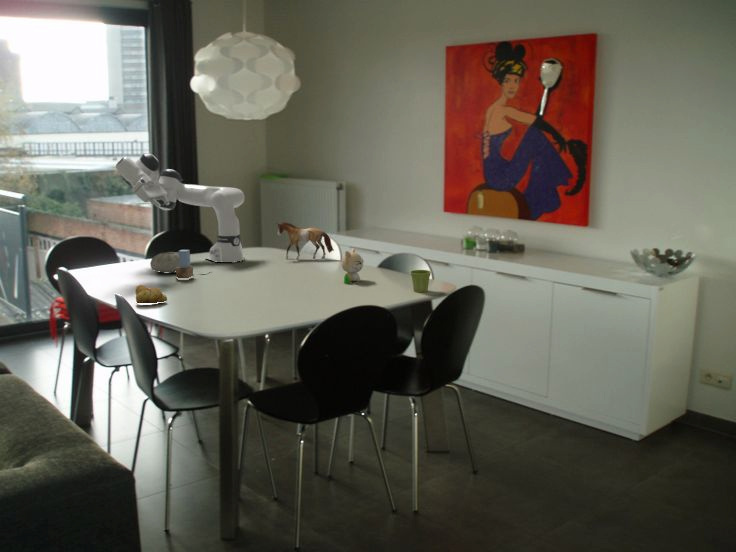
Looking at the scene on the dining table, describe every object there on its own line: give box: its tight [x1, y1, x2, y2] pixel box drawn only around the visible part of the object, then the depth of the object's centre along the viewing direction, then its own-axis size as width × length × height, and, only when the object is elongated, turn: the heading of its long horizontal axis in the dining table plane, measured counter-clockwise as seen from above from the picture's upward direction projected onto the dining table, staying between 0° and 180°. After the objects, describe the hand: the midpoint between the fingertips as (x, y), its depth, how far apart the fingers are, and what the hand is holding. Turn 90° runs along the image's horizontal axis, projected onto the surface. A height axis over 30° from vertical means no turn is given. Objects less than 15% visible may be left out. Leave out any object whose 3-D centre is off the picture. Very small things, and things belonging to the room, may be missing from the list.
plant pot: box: [409, 269, 432, 293], centre depth 352 cm, size 9×9×9 cm
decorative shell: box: [149, 251, 179, 273], centre depth 405 cm, size 18×18×10 cm
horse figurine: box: [275, 222, 335, 260], centre depth 435 cm, size 31×8×21 cm, turn 85°
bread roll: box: [135, 284, 168, 304], centre depth 333 cm, size 13×10×8 cm
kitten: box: [341, 247, 365, 285], centre depth 375 cm, size 15×10×15 cm, turn 161°
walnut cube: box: [175, 265, 194, 278], centre depth 386 cm, size 6×6×6 cm
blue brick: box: [178, 249, 191, 268], centre depth 385 cm, size 4×4×8 cm
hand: (163, 205), depth 383 cm, fingers open, 8 cm apart
